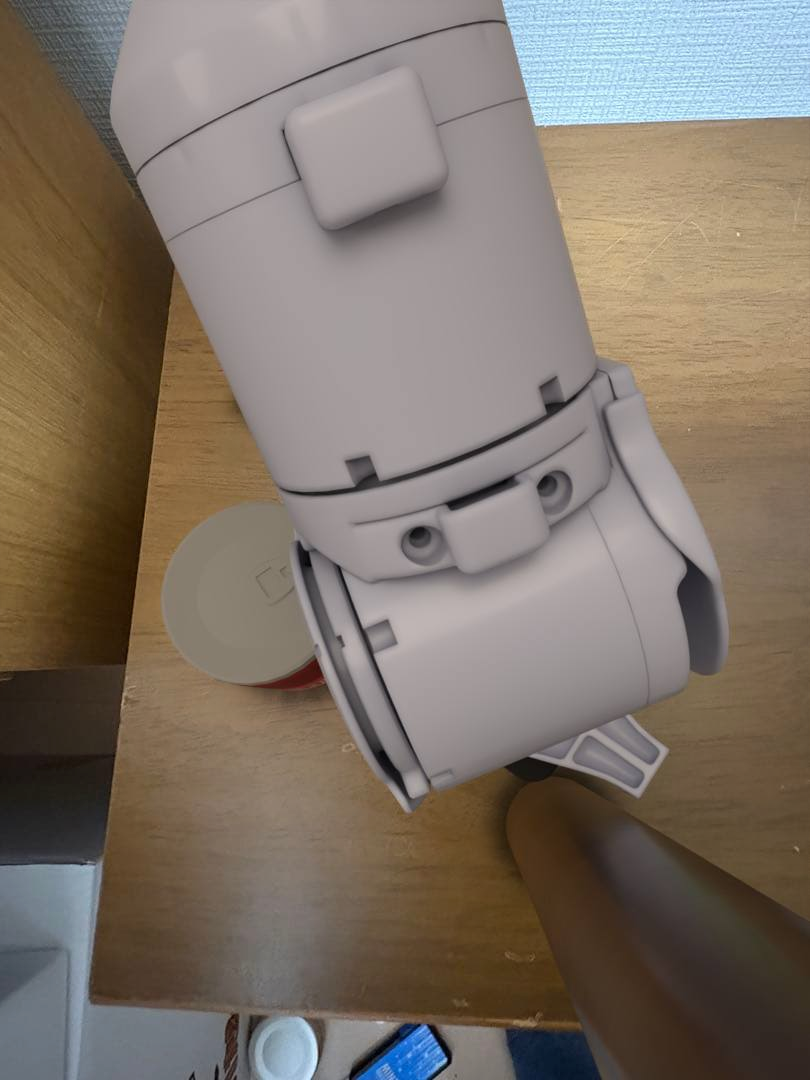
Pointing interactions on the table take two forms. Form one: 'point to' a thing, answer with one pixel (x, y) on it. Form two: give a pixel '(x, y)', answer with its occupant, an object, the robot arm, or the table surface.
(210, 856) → the table surface
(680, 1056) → the pepper mill
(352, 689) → the robot arm
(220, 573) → the canned food
